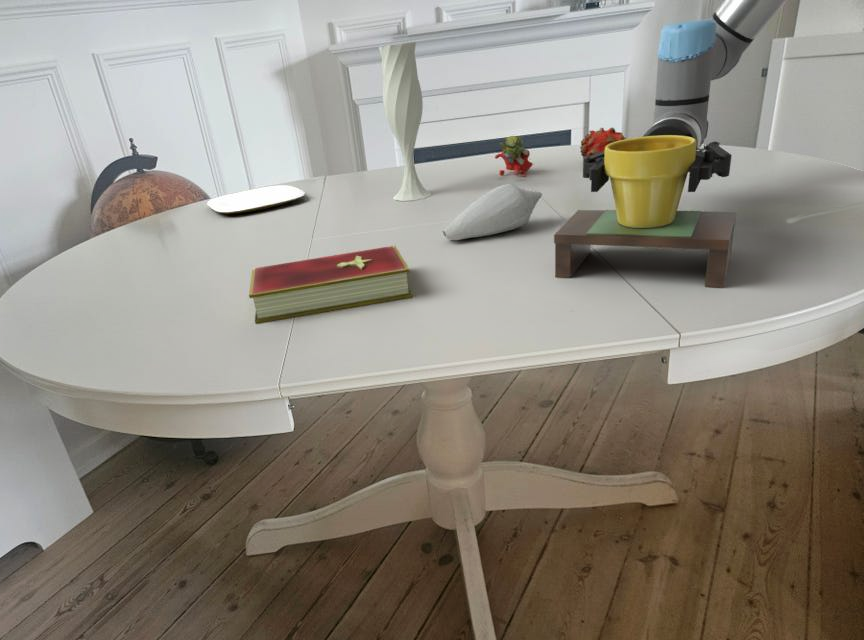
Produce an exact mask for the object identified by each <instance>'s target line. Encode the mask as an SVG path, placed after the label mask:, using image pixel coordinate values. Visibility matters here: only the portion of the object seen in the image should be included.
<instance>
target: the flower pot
mask: <svg viewBox="0 0 864 640" xmlns="http://www.w3.org/2000/svg"><path fill="white" fill-rule="evenodd" d="M695 156H696V140H695V139H694V138H692V137H688V136H677V135H660V136H646V137H643V136H639V137H632V138H626V139H625V140H620V141H616V142H613V143H610V144H608V145H607V146H606V147H605V159H604V163H605V174H606V175H607V176H609V181H610V186H611V191H612V196H613V201H614V205H615V210H616V212H617V217H618V222H619V224H621V225H623V226H626V227H630V228H655V227H661V226H665V225H668V224H670V223H672V222H673V221H674V219H675V216H676V212H677V211H678V209H679V205H680V201H681V198H682V194H683V191H684V187H685V184H686V181H687V177H688V174H689V173H690V168H691V166H692V164H693V162H694V161H695Z"/></svg>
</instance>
